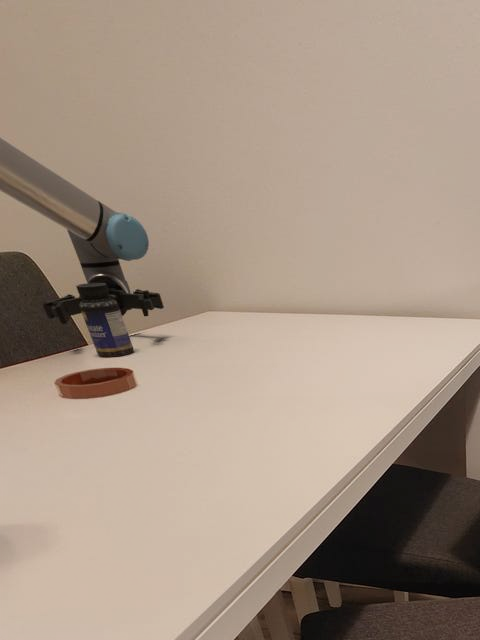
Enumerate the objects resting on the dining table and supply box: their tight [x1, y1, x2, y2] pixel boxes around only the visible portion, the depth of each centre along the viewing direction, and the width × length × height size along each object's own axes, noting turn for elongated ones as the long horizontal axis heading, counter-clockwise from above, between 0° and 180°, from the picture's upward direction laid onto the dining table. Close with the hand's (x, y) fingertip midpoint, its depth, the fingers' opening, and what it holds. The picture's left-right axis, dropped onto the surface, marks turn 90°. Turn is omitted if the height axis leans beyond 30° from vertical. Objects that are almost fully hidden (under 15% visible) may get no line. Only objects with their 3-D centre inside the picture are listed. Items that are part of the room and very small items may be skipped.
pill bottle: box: [75, 282, 134, 358], centre depth 105 cm, size 6×6×11 cm
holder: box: [54, 367, 139, 400], centre depth 83 cm, size 10×10×4 cm
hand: (103, 311), depth 107 cm, fingers open, 13 cm apart
